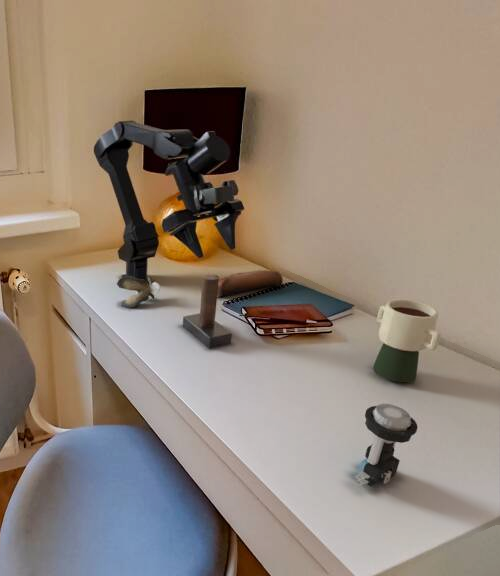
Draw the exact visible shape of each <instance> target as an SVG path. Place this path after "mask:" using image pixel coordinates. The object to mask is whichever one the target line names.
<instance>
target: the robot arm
mask: <svg viewBox="0 0 500 576" xmlns="http://www.w3.org/2000/svg"><path fill="white" fill-rule="evenodd" d="M134 143H136V144H138V145H142V146H145V147H148V148H150V149H152V150H153V153H154V154H155V155H157V156H158V157H160V158H162V159H163V160H172V159H177V161H175V162H169V163H168V165H167V168H166V170H165V172H164V176H165V177H170V176H172V177H173V179H174V181H175V185H176V187H177V190H178V191H179V192H178V193H179V195H177V196H176V198H177V201H178V202H180V201H181V202H182V203H183V206H184V208H183V209H178V210H175V211H173V212H171V213H170V214H169V215H167V216H166V217H164V218H163V219H162V222H161V228H162V231H163V233H164V234H168V233H169V235H170V236H171V237H174V238H175V239H177V240H178V241H179V242H181V243H182V244H183V245H184V246H185V247H186V248H187V249H188V250H190V251H191V253H193V255H195V256H196V257H197V258H198V259H202V258H204V252H203V248H202V245H201V243H200V240H199V237H198V234H197V223H198V222H200V221H203V220H208V219H212V220H213V221H215V223H214V227H215V228H216V230H217V231H218V233H219V235H220V237H221V238H222V240H223V241H224V243H225V244H226V246H227V247H228V248H229V250H230V251H232V250H233V251H234V250H235V249H236V223H237V220H238V218H239V216H241V215H242V212H243V211H244V210H245V205H244V204H243V201H242V200H240V199H238V198H235V197H236V196H238V194H239V187H238V184H237V182H236V181H235V179H230V180H224V181H222V184H221V186H216V187H214V185H213V183H211V181H208V182H206V179H205V177H204V176H207V175H209V174H211V172H214V170H216V169H218V168H219V167H220V166H221V165H222V164H224V163H225V162H227V161H228V160H229V159H230V157H231V149H230V145H229V144H228V143H227V142H226V141H225V140H224V139H223V138H222V137H220V136H218V135H217V134H216V131H215V130H211V131H209V130H208V131H205V133H204V134H203V135H202V136H200V138H197V137H195V136H194V133H193V132H192V131H191V130H190V129H161V128H157V127H155V126H154V127H153V126H150V125H148V124H143V123H140V122H137V121H134V120H120V121H117V122H115V123H114V124H113V126H112V127H111V128H110V129H109V130H107V131H106V132H104V133H103V134H101V135H100V137H99V138H98V139H97V140H96V143H94V146H93V154H94V156H95V159H96V161H97V163H98V165H99V167H100V168H101V169H102V170H103V171H104V172H105V173H107V174H108V177H109V179H110V180H109V181H110V183H111V185H112V188H113V192H114V194H115V195H114V196H115V198H116V201H117V204H118V207H119V210H120V214H121V216H122V220H123V222H124V231H123V235H122V239H123V244H122V245H121V246H120V247H119V248H118V250H117V255H118V259H119V260H121V261H123V262H125V274H121V277H125V276H133V277H135V278H138V279H144V280H145V281H146V282H147V283H148V284H149V280H148V278H149V277H150V276H149V275H148V267H149V266H148V265H149V259H151V258H155V257H156V254H157V251H158V248H159V246H160V240H159V237H160V235H159V234H158V232H157V229H156V225H155V223H154V222H153V221H150V222H148V221H147V220H146V219H145V217H144V215H143V212H142V209H141V206H140V203H139V199H138V197H137V194H136V191H135V188H134V185H133V182H132V179H131V175H130V173H129V169H128V163H129V158H130V154H129V150H130V149H131V148H132V147H133V145H134ZM121 277H120V278H121ZM150 279H151V280H152V281H153V279H152V278H151V277H150Z"/></svg>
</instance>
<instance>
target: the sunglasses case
mask: <svg viewBox="0 0 500 576" xmlns="http://www.w3.org/2000/svg"><path fill="white" fill-rule="evenodd" d="M283 282H284V280H283V276H282V274H281V273H280V272H279V271H276V270H265V269H264V270H263V269H261V270H250V271H245V272H244V271H243V272H237V273H232V274H230V275H228V276H225V277H220V278H219V281H218V292H217V298H220V297H222V296H228V295H231V294H235V293H236V294H237V293H240V292H243V291H249V290H254V289H260V288H266V287H267V288H268V287H271V286H279V287H280V286H282V285H283Z"/></svg>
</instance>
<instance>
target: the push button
mask: <svg viewBox="0 0 500 576" xmlns="http://www.w3.org/2000/svg"><path fill="white" fill-rule="evenodd" d="M364 418H365V423H364V424H365V426H366V428H367V430H368V431H370V432H371V433H372V434H373V439H372V443H371V445H369V446H368V447H366V451H365V454H364V457H365V459H363V460H362V461H361V462H360V465H359V469H358V472H357V475H355V476H354V478H355V479H356V480H354V481H353V484H354V485H356V486H357V487H362V486H363V485H368V486H370V487H372V486H373V485H375V484H377V483H378V482H381V481H382V480H383V481H382V482H383V485H384V484H387V483H388V482H389V481H390V479H391V478H393V477H394V476H396V474H397V471H398V468H399V464H400V461H401V460H400V459H399V458H397V457H396V456H394V453H395V450H396V449H395V447H396V444H397V443H400V444H403V443H408V442H409V441H410V440H411V439H412V436H414V435H415V434H416V433H417V431H418V424H417V422H416V420H415V419H414V418H413V417H411V415H410V414H409V411H407V410H405V408H402V407H401V406H397V405H395V404H391V403H379V404H377V405H371V406H369V407H368V408H367V409H366V410H365V413H364Z"/></svg>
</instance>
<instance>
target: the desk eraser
mask: <svg viewBox="0 0 500 576" xmlns="http://www.w3.org/2000/svg"><path fill="white" fill-rule="evenodd" d="M219 279H220V276H219V275H217V274H213V273H206V274H204V275H202V285H201V294H200V295H201V296H200V308H199V309H200V310H199V312H198V313H194V314H188V315H183V317H182V327H183V329H185V331H187V332H188V333H189V334H190V335H192V336H193V337H194V338H196V339H197V340H198V341H199V342H200V343H201V344H203V345H204V346H205V347H206V348H207V349H209V350H211V349H215V348H219V347H225V346H229V345H232V337H233V333H232V332H231V331H230V330H228V329H227V328H225V327H224V326H223V325H222V324H220V323H219V322H217V321H216V312H217V302H218V297H217V292H218V281H219Z"/></svg>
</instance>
